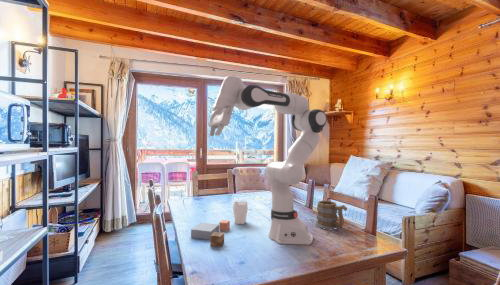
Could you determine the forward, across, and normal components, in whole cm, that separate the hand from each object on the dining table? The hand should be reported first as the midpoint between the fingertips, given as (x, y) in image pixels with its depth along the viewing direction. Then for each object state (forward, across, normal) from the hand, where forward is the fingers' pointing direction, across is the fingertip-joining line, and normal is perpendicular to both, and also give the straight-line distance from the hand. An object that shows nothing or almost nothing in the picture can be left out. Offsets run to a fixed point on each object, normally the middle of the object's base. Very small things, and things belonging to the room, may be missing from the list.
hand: (214, 135), depth 108 cm
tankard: (+27, -1, -84) cm, 88 cm away
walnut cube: (+48, +5, -20) cm, 52 cm away
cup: (+41, +30, -42) cm, 66 cm away
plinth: (+49, +20, -18) cm, 56 cm away
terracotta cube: (+45, +23, -30) cm, 58 cm away
